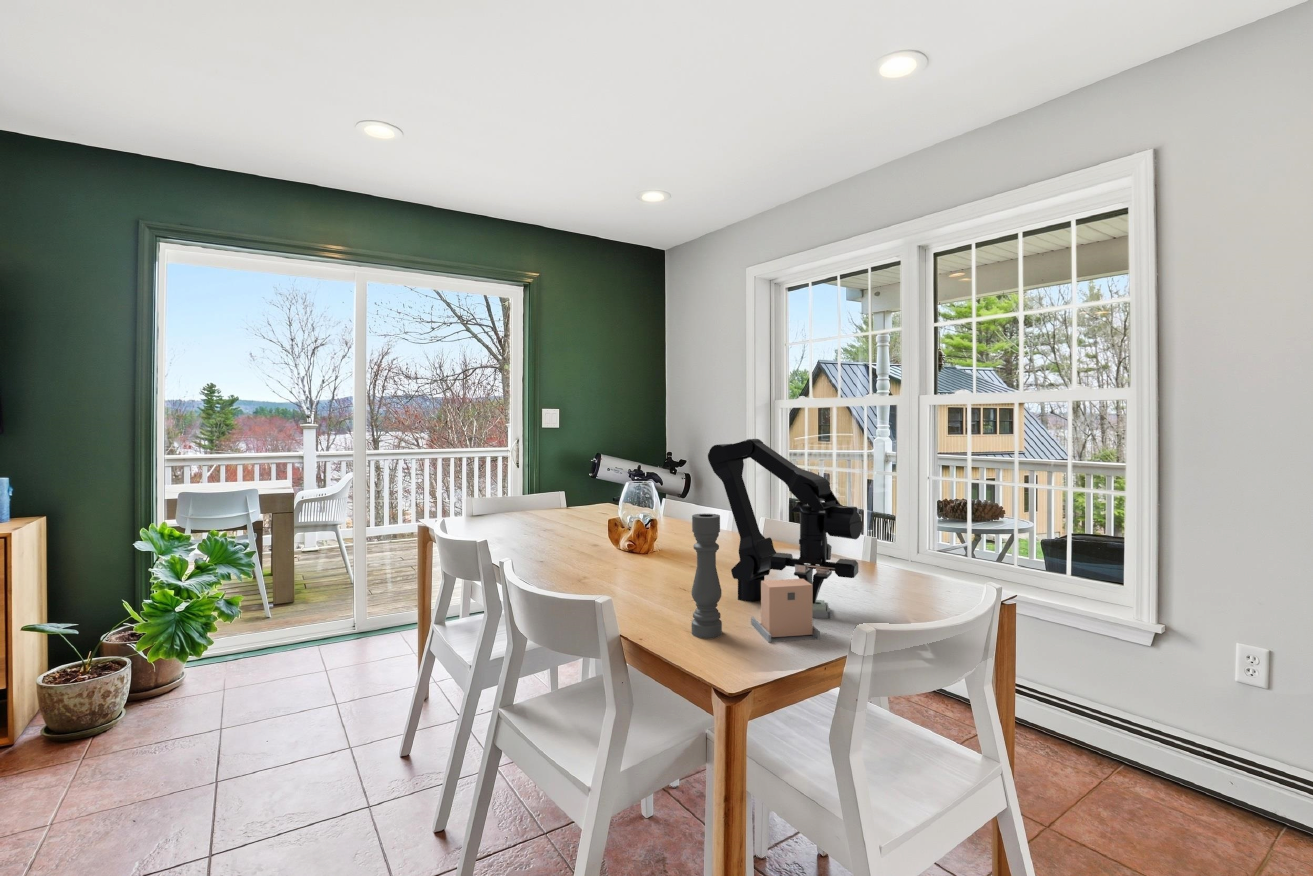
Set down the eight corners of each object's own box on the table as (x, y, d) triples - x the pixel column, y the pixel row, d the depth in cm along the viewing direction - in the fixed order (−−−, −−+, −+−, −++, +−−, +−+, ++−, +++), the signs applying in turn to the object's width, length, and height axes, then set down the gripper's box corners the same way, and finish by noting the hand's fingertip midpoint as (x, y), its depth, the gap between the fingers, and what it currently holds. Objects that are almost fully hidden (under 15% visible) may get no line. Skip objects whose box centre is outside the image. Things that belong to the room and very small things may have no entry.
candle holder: (703, 630, 134) (702, 512, 133) (728, 637, 130) (727, 515, 129) (685, 639, 130) (684, 516, 129) (710, 645, 126) (710, 519, 125)
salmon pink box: (761, 629, 131) (761, 580, 131) (802, 626, 133) (802, 578, 132) (769, 637, 126) (769, 587, 126) (812, 634, 128) (813, 585, 127)
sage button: (801, 614, 141) (801, 605, 140) (800, 607, 146) (800, 598, 146) (826, 616, 140) (826, 606, 140) (824, 608, 145) (824, 599, 145)
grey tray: (751, 628, 135) (751, 617, 135) (798, 625, 137) (798, 614, 137) (768, 647, 124) (768, 634, 124) (820, 643, 126) (820, 631, 126)
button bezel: (795, 621, 139) (795, 611, 139) (794, 610, 147) (794, 600, 147) (833, 623, 138) (833, 612, 138) (830, 612, 146) (830, 602, 146)
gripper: (863, 530, 145) (862, 598, 145) (782, 524, 153) (782, 589, 154) (853, 539, 135) (853, 612, 136) (768, 532, 144) (768, 601, 144)
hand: (812, 603), depth 143 cm, fingers closed, pressing on sage button
